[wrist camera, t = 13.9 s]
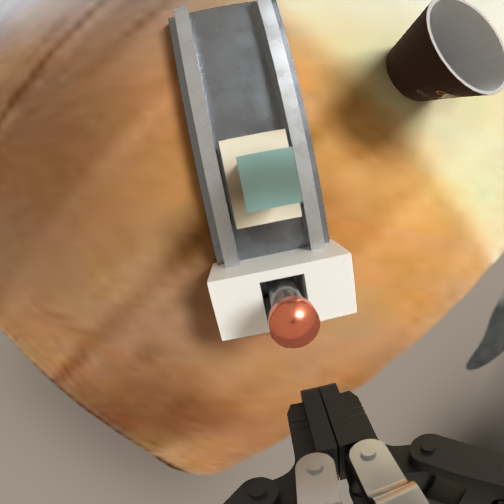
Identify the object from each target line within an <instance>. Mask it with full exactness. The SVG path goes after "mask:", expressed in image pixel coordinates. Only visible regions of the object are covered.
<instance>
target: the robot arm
mask: <svg viewBox="0 0 504 504" xmlns="http://www.w3.org/2000/svg"><path fill="white" fill-rule="evenodd" d="M301 398H302V403H297V404H292V405H290V408H289V410H288V413H287V416H288V421H289V427H290V432H291V437H292V443H293V448H294V454H295V464H294V466H293V468H292V469H291V470H290V471H289V472H288V473H287V474H285V475H283V476H282V477H279V478H277V479H275V480H270V479H268V478H264V477H258V478H252V479H250V480H248V481H246V482H244V483H243V484H242V485H241V486H240V487H239V488H238V489H237V490H236V491H235V492H234V493H233V494H232V495H231V497H230V498H229V499H228V500H227V501H226V502H225V503H224V504H342V501H341V495H340V489H339V484H338V480H339V477H340V480H343V479H347V481H348V484H349V494H350V497H351V499H352V501H353V504H504V453H501V452H497V451H493V450H489V449H485V448H481V447H478V446H474V445H470V444H466V443H463V442H459V441H456V440H453V439H449V438H446V437H442V436H439V435H436V434H424V435H421V436H419V437H418V438H416V439H415V440H414V441H413V442H412V443H411V445H404V446H390V445H386V444H384V443H383V442H381V441H380V440H379V439H378V438H377V436H376V434H375V432H374V430H373V428H372V426H371V424H370V422H369V420H368V417H367V415H366V414H365V411H364V409H363V407H362V405H361V403H360V401H359V399H358V397H357V396H356V395H354V394H353V393H352V392H350V391H347V392H344V393H340V392H339V390H338V388H337V385H336V383H332V384H328V385H324V386H320V387H318V388H317V387H316V388H311V389H307V390H302V391H301ZM338 474H339V476H338Z"/></svg>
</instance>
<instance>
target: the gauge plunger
mask: <svg viewBox="0 0 504 504" xmlns="http://www.w3.org/2000/svg"><path fill="white" fill-rule="evenodd" d="M266 286H267V290H268V295H269V299H270V304H271V310H270V312H269V316H268V323H269V329H270V333H271V336H272V338H273V339H274V341H275V342H276V343H278V344H279V345H281V346H283V347H286V348H299V347H303V346H305V345H307V344H309V343H310V342H311V341H312V340H313V339H314V338H315V337H316V335H317V334H318V332H319V328H320V319H319V316H318V314H317V312H316V310H315V308H314V306H313V305H312V303H311V302H310V301H308V300H307V299H305V298H303V297H302V295H301V293H300V291H299V289H298V287H297V285H296V283H295V281H294V279H293V277H292V276H290V277H285V278H281V279H276V280H271V281H266Z"/></svg>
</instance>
